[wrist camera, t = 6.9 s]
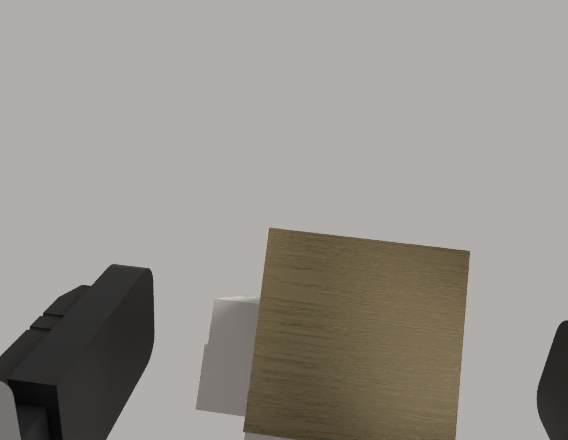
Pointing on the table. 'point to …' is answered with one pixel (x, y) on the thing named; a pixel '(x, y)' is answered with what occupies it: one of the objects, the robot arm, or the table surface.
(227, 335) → the stand
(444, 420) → the bar
